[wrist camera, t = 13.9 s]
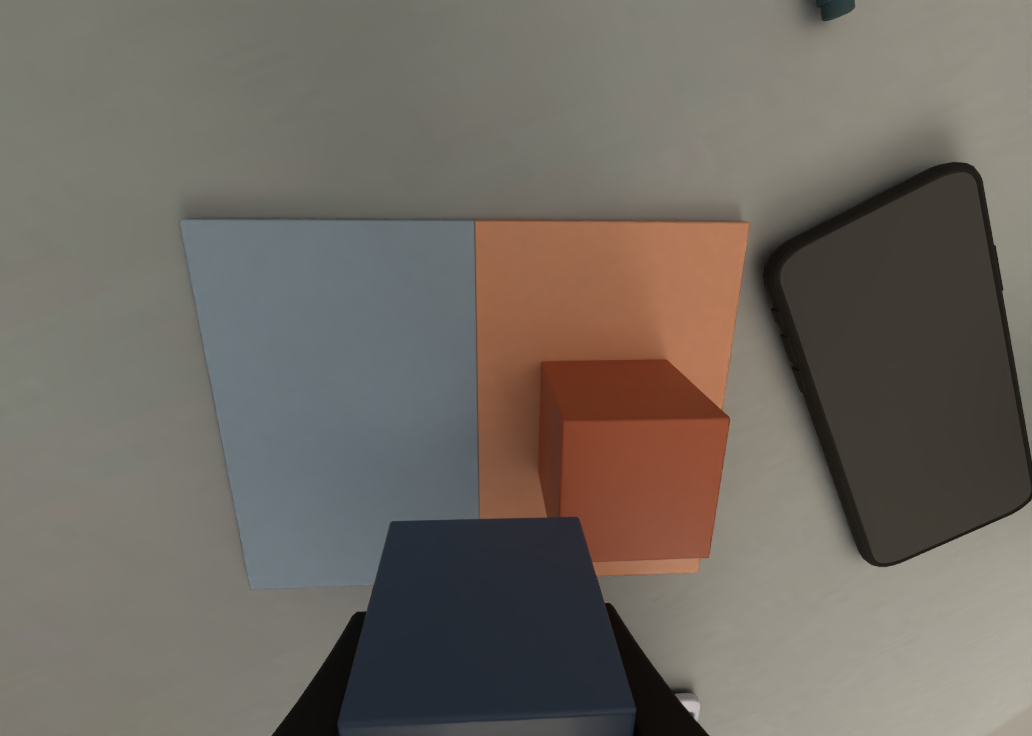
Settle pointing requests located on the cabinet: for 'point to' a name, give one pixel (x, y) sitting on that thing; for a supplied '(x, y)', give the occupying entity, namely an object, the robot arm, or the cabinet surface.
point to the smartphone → (907, 363)
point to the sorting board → (428, 364)
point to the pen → (834, 8)
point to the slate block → (487, 635)
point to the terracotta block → (631, 457)
